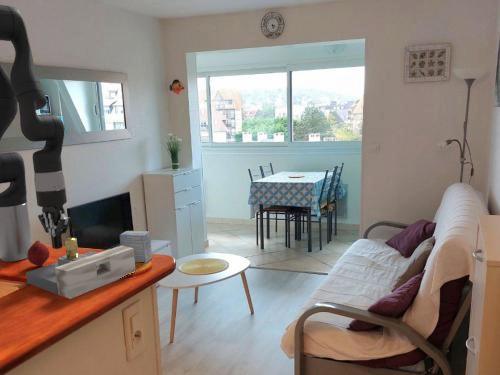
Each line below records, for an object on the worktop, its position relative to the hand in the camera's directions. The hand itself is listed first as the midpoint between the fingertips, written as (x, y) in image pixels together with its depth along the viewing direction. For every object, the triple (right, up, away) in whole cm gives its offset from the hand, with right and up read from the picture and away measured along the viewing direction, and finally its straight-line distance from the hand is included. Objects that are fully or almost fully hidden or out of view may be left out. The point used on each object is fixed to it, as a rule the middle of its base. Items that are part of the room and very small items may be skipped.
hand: (57, 248), depth 119 cm
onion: (-8, -6, +6) cm, 12 cm away
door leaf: (+7, -7, -3) cm, 10 cm away
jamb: (+15, -8, -9) cm, 19 cm away
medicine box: (+20, -5, +8) cm, 22 cm away
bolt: (+8, -4, -5) cm, 10 cm away
